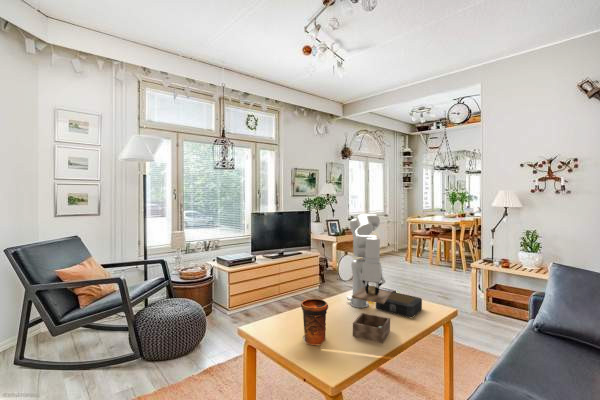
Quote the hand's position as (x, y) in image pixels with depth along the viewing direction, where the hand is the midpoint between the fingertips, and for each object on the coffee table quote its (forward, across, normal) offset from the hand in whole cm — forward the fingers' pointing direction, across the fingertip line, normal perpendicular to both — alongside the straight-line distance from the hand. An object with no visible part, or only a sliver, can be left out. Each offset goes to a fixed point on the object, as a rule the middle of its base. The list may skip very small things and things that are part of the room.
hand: (372, 293), depth 167 cm
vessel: (+23, -25, -20) cm, 40 cm away
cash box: (+24, +5, +45) cm, 51 cm away
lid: (+2, 0, 0) cm, 2 cm away
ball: (+21, +4, +4) cm, 21 cm away
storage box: (+23, 0, 0) cm, 23 cm away
